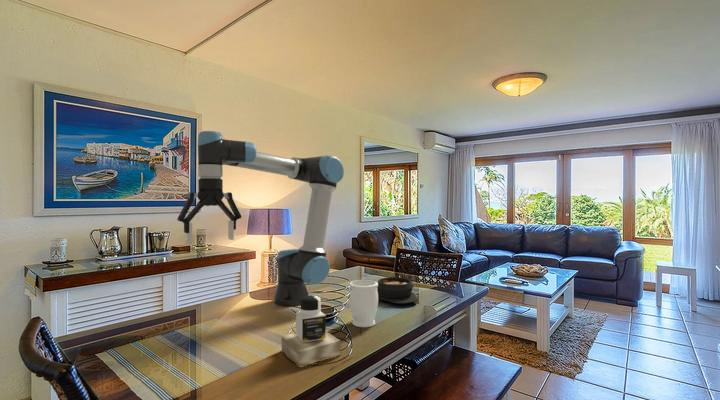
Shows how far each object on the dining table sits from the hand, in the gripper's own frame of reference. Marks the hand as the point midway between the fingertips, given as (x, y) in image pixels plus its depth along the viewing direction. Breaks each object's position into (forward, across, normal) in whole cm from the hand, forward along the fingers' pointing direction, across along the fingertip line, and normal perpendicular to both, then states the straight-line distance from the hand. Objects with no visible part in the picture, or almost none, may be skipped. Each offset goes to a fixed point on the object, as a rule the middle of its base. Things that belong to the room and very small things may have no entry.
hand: (211, 241), depth 120 cm
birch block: (+32, -17, +34) cm, 50 cm away
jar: (+32, -45, +27) cm, 61 cm away
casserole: (+32, -76, +14) cm, 84 cm away
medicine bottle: (+27, -17, +34) cm, 47 cm away
